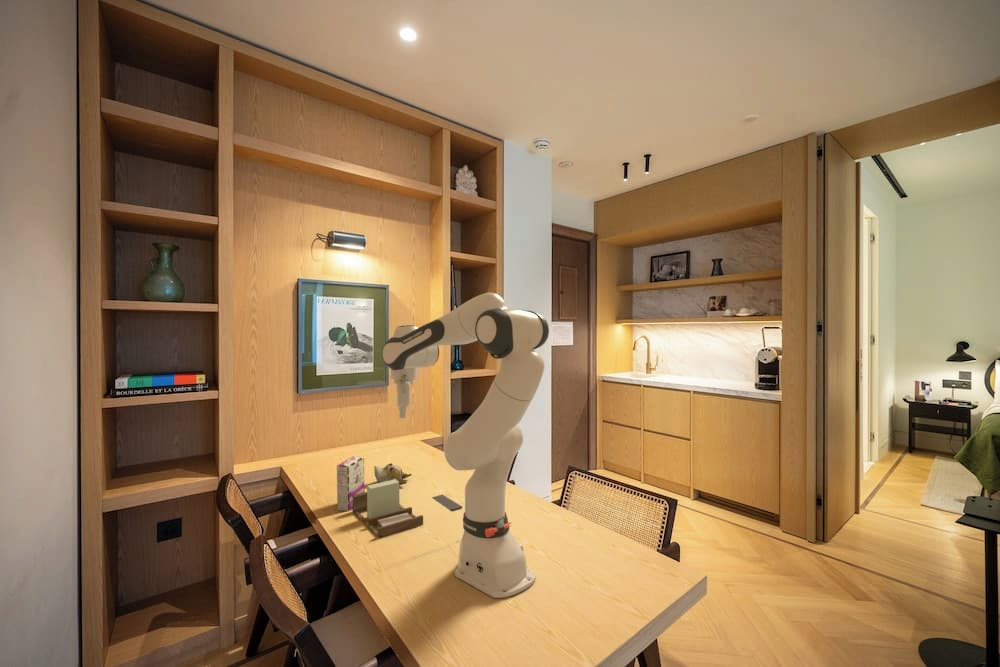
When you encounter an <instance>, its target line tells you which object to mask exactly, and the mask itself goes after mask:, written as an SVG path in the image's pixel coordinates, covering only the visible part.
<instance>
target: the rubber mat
mask: <svg viewBox="0 0 1000 667" xmlns="http://www.w3.org/2000/svg"><path fill="white" fill-rule="evenodd" d="M431 498H432V499H433V500H434V501H436V502H437V503H438V504H440V505H441V506H442V507H445V508H446V509H447V510H449V511H450V512H454V511H456V510H460V509H463V506H462V505H461V504H458V503H457V502H456V501H454V500H452V499H450V498H449V497H448V496H446V495H445V494H440V495H435V496H433V497H431Z"/></svg>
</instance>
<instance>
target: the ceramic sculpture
mask: <svg viewBox="0 0 1000 667" xmlns="http://www.w3.org/2000/svg"><path fill="white" fill-rule="evenodd" d="M373 468H374V477H375V479H376V482H377V483H381V482H386V481H390V480H394V479H395V480H397V481H398V482H399V486H401V485H406V484H407V483H408V482H407V481H405V479H407V478H409V477H411V476H412V473H409V474H408V473H405V472H403V469H402V468H401V467H400V466H399V465H394V464H393V463H388V464H386V465H385V466H384V467H382V466H376V465H374V467H373ZM377 483H376V484H377Z"/></svg>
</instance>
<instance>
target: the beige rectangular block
mask: <svg viewBox="0 0 1000 667" xmlns="http://www.w3.org/2000/svg"><path fill="white" fill-rule="evenodd" d="M366 492H367V511H366V514H367V515H366V518H367V519H369V518H372V517H376V516H380V515H383V514H387V513H390V512H394V511H398V510H400V509H399V504H400V485H399V482H398V481H397V480H395V479H394V480H390V481H386V482H381V483H373V484H369V485H367V486H366Z"/></svg>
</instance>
